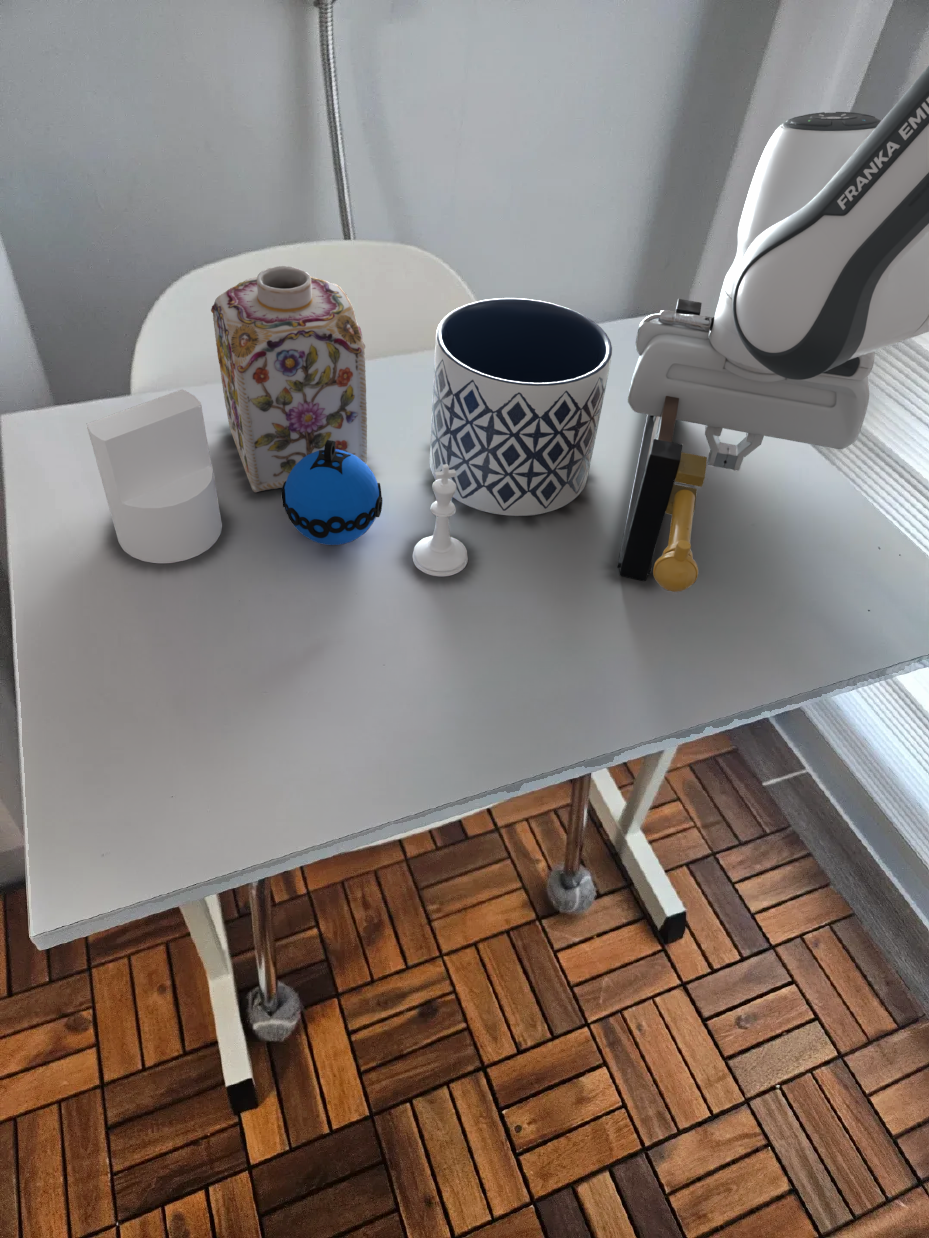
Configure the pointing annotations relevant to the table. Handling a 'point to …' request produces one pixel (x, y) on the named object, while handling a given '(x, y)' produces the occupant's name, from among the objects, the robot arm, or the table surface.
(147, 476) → the cylinder with rectangular tab
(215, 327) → the decorative jar
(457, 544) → the chess piece
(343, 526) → the ornament
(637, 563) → the gate frame
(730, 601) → the table surface
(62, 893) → the table surface
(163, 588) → the table surface
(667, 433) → the gate
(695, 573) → the bolt
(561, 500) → the planter
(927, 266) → the robot arm
